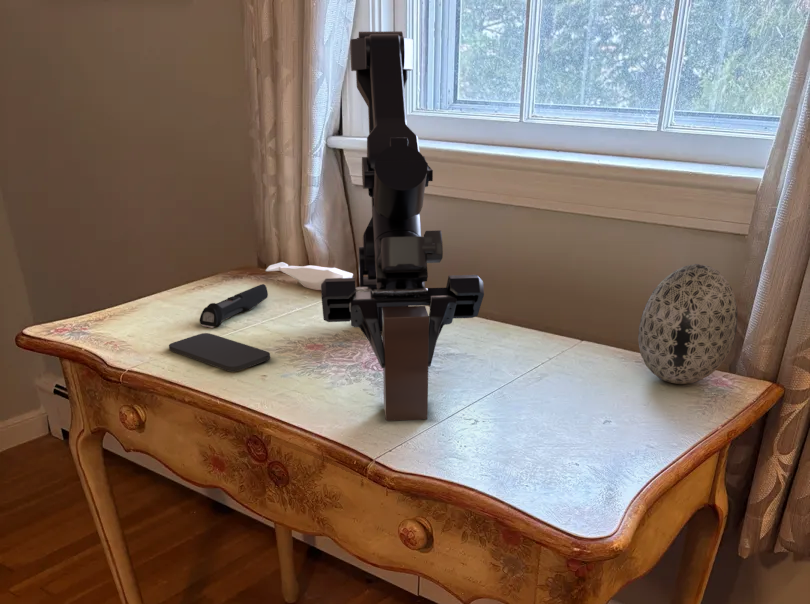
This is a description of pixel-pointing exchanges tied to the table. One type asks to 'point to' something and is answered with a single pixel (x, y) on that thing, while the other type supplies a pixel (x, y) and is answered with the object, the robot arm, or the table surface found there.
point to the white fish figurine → (310, 274)
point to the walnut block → (405, 362)
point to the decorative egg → (688, 325)
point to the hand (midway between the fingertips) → (406, 366)
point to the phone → (219, 352)
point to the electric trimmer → (232, 306)
